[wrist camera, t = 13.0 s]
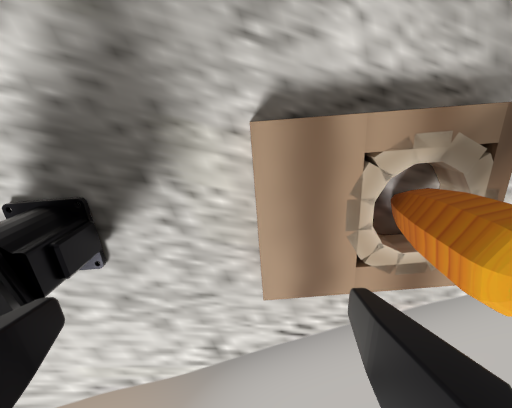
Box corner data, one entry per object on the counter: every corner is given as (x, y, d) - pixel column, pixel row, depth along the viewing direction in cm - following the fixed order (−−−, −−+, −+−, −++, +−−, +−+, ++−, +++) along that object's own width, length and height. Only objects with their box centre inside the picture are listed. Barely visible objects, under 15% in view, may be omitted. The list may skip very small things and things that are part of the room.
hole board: (261, 277, 23) (263, 300, 20) (249, 121, 18) (249, 122, 15) (451, 262, 23) (479, 283, 20) (487, 103, 18) (532, 100, 15)
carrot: (375, 165, 19) (704, 282, 5) (433, 174, 20) (895, 307, 6) (358, 221, 21) (575, 427, 7) (412, 228, 21) (729, 441, 7)
